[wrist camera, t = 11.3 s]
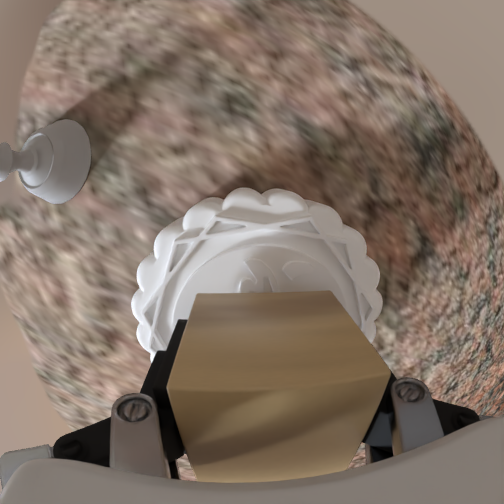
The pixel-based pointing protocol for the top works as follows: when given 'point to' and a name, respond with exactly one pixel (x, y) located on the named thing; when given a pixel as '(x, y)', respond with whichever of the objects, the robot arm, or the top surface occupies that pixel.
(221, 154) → the top surface
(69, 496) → the robot arm
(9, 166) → the chalice
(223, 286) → the mooncake
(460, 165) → the top surface
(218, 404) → the block
